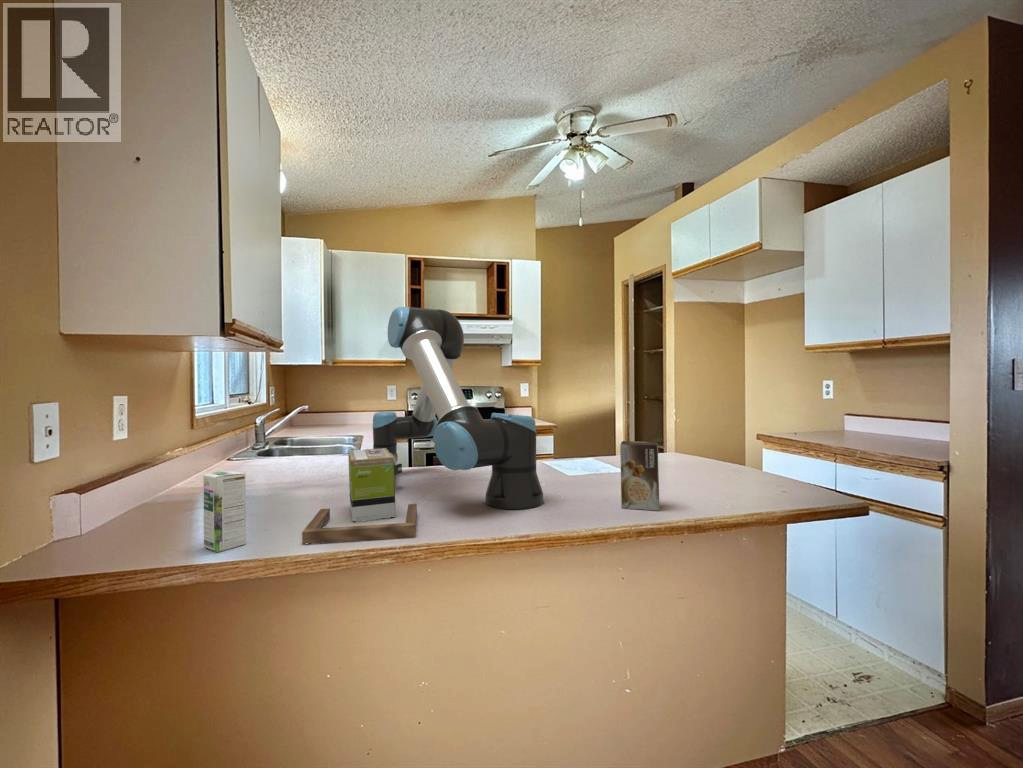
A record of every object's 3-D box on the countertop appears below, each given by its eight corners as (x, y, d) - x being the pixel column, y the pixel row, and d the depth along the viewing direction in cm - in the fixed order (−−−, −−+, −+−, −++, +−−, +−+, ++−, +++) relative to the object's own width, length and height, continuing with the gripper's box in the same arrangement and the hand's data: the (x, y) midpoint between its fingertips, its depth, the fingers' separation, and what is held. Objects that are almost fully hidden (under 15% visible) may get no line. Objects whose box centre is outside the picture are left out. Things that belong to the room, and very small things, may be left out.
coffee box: (660, 504, 125) (659, 441, 124) (659, 511, 119) (658, 444, 118) (623, 502, 128) (622, 440, 127) (620, 508, 122) (619, 443, 121)
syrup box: (202, 547, 97) (200, 474, 97) (233, 539, 102) (231, 469, 101) (217, 553, 94) (215, 477, 93) (248, 544, 99) (246, 471, 98)
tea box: (348, 507, 126) (347, 449, 126) (388, 503, 130) (387, 447, 129) (351, 523, 112) (350, 458, 112) (396, 518, 116) (395, 455, 115)
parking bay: (416, 514, 119) (416, 503, 119) (415, 537, 101) (415, 525, 101) (320, 519, 115) (320, 508, 115) (302, 544, 98) (302, 532, 98)
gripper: (404, 475, 154) (399, 493, 131) (360, 477, 152) (348, 495, 129) (403, 451, 154) (399, 465, 131) (360, 453, 152) (348, 467, 129)
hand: (374, 480), depth 130 cm, fingers closed
